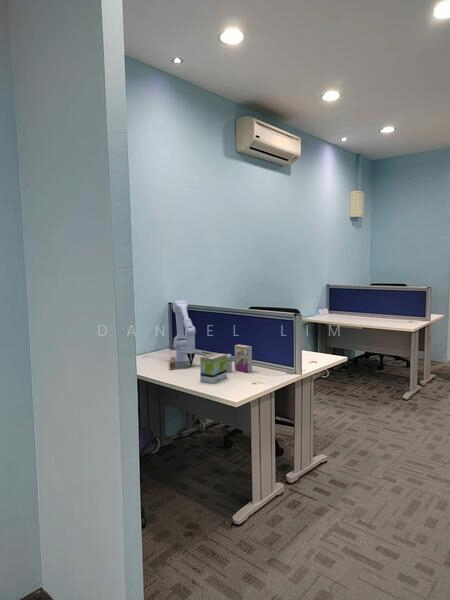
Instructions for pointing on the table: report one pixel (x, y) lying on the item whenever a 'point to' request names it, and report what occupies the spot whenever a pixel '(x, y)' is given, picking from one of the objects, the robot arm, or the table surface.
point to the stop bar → (172, 363)
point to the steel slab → (182, 365)
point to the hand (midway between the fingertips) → (191, 364)
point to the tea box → (213, 367)
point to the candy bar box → (243, 358)
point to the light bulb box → (229, 363)
